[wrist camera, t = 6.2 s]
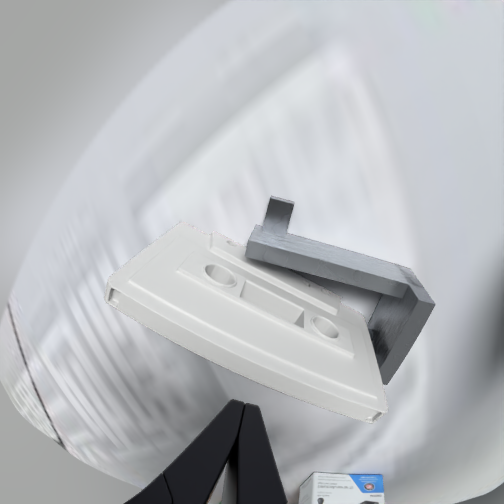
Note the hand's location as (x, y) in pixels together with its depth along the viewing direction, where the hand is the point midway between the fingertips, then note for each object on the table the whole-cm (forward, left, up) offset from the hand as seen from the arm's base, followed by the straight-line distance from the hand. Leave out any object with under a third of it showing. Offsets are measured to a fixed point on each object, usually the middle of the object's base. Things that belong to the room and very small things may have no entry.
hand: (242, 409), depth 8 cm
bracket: (-3, 0, -9) cm, 10 cm away
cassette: (0, 0, -10) cm, 10 cm away
